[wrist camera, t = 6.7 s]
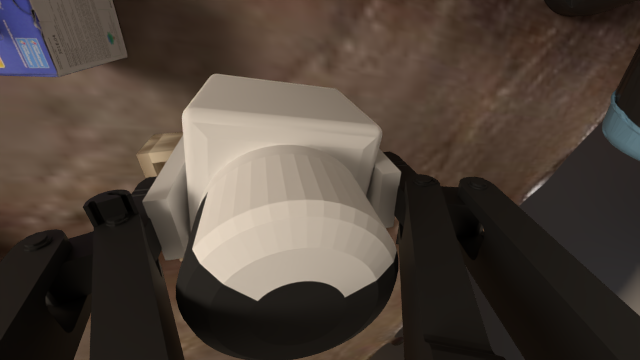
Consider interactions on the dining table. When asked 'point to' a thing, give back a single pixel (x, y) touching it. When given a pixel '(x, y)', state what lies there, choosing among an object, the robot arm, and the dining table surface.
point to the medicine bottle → (280, 220)
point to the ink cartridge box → (57, 36)
